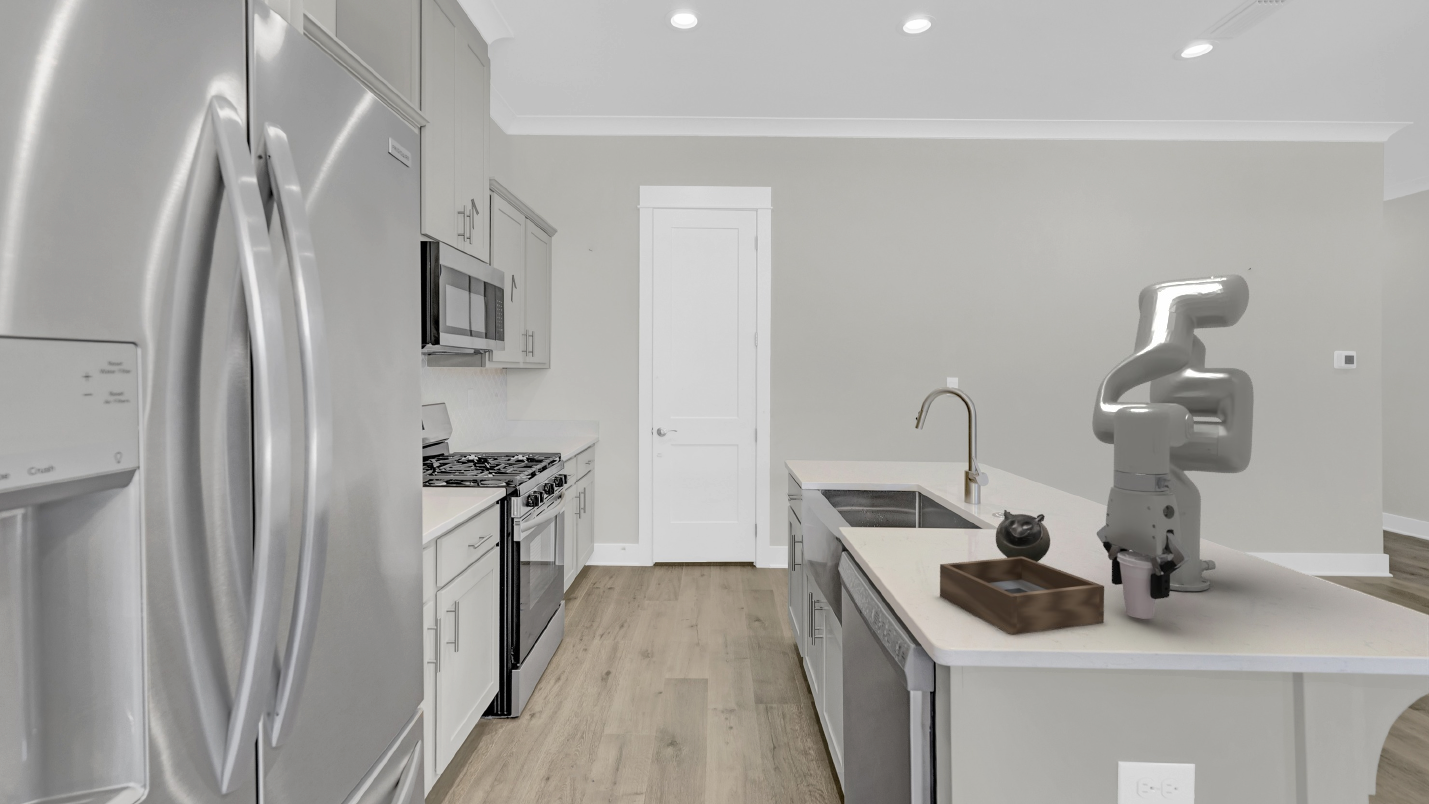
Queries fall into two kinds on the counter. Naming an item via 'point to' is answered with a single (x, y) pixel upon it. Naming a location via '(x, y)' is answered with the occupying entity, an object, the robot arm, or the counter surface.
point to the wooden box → (1022, 594)
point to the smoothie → (1137, 583)
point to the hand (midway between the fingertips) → (1139, 589)
